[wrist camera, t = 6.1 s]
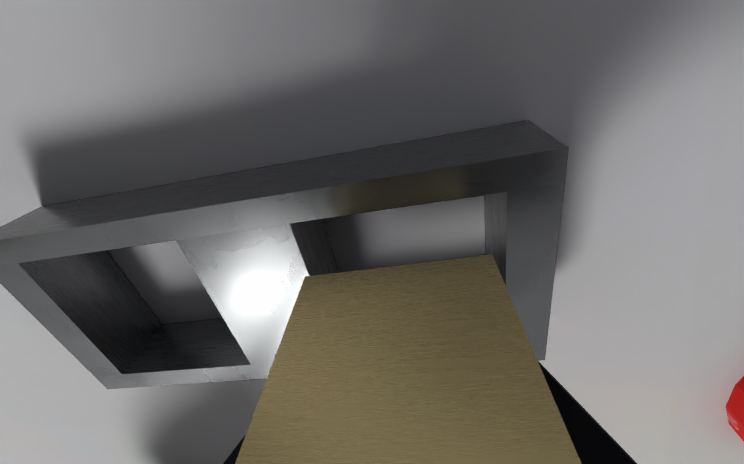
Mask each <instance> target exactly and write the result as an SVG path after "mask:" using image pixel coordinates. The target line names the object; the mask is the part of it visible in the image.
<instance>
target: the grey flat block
mask: <svg viewBox="0 0 744 464" xmlns="http://www.w3.org/2000/svg"><path fill="white" fill-rule="evenodd" d="M567 157H568V147H567V146H565V145H564V144H562V143H561V142H559V141H558V140H556V139H555V138H554V137H552V136H551V135H549V134H548V133H546V132H545V131H543V130H542V129H541V128H539V127H538V126H536V125H535V124H533V123H532V122H530V121H529V120H528V121H522V122H516V123H511V124H505V125H499V126H494V127H488V128H483V129H477V130H471V131H466V132H460V133H454V134H449V135H443V136H437V137H432V138H426V139H421V140H415V141H409V142H404V143H398V144H392V145H387V146H381V147H375V148H370V149H364V150H359V151H353V152H347V153H342V154H336V155H330V156H325V157H319V158H313V159H308V160H302V161H297V162H291V163H285V164H280V165H274V166H268V167H263V168H257V169H252V170H246V171H240V172H235V173H229V174H223V175H218V176H212V177H206V178H201V179H195V180H190V181H184V182H178V183H173V184H167V185H161V186H156V187H150V188H144V189H139V190H133V191H128V192H122V193H116V194H111V195H105V196H99V197H94V198H88V199H82V200H77V201H71V202H66V203H60V204H54V205H49V206H43V207H40V208H38V209H36V210H34V211H32V212H30V213H28V214H25V215H23V216H21V217H19V218H17V219H15V220H13V221H11V222H9V223H7V224H5V225H3V226H1V227H0V283H1V284H2V285H3V286H4V287H5V288H6V289H7V290H8V291H9V292H10V293H11V294H12V295H13V296H14V297H15V298H16V299H17V300H18V301H19V302H20V303H21V304H22V305H23V306H24V307H25V308H26V309H27V310H28V311H29V312H30V313H31V314H32V315H33V316H34V317H35V318H36V319H37V320H38V321H39V322H40V323H41V324H42V325H43V326H44V327H45V328H46V329H47V330H48V331H49V332H50V333H51V334H52V335H53V336H54V337H55V338H56V339H57V340H58V341H59V342H60V343H61V344H62V345H63V346H64V347H65V348H66V349H67V350H68V351H69V352H70V353H72V354H73V355H74V356H75V357H76V358H77V359H78V360H79V361H80V362H81V363H82V364H83V365H84V366H85V367H86V368H87V369H88V370H89V371H90V372H91V373H92V374H93V375H94V376H95V377H96V378H97V379H98V380H99V381H100V382H101V383H102V384H103V385H104V386H105V387H106V388H107V389H117V388H132V387H147V386H162V385H177V384H192V383H207V382H222V381H237V380H252V379H267V377H268V374H269V372H270V369H271V366H272V363H273V361H274V358H275V355H276V353H277V350H278V347H279V345H280V342H281V339H282V337H283V334H284V331H285V329H286V326H287V323H288V321H289V318H290V315H291V313H292V310H293V307H294V305H295V302H296V299H297V297H298V294H299V291H300V289H301V286H302V283H303V280H304V278H305V277H306V276H315V275H323V274H331V273H339V271H338V268H337V265H336V262H335V259H334V256H333V253H332V249H331V246H330V243H329V240H328V237H327V234H326V231H325V227H324V224H323V221H322V219H324V218H331V217H338V216H345V215H352V214H358V213H365V212H372V211H379V210H386V209H393V208H399V207H406V206H413V205H420V204H427V203H434V202H441V201H447V200H454V199H461V198H468V197H475V196H482V195H484V207H485V247H486V255H490V254H492V255H493V257H494V260H495V262H496V264H497V267H498V269H499V272H500V274H501V276H502V279H503V281H504V283H505V286H506V288H507V290H508V293H509V295H510V297H511V300H512V302H513V304H514V307H515V309H516V311H517V314H518V316H519V318H520V321H521V323H522V325H523V328H524V330H525V332H526V335H527V337H528V339H529V342H530V344H531V346H532V349H533V351H534V354H535V356H536V358H537V360H545V354H546V345H547V336H548V327H549V318H550V309H551V300H552V291H553V282H554V273H555V264H556V255H557V246H558V237H559V228H560V219H561V210H562V201H563V192H564V183H565V174H566V165H567ZM173 240H176V241H177V243H178V244H179V246H180V248H181V249H182V251H183V253H184V254H185V256H186V258H187V259H188V261H189V263H190V264H191V266H192V268H193V269H194V271H195V273H196V274H197V276H198V278H199V279H200V281H201V283H202V284H203V286H204V287H205V289H206V291H207V292H208V294H209V296H210V297H211V299H212V301H213V302H214V304H215V306H216V307H217V309H218V311H219V312H220V314H221V316H222V317H223V319H214V320H204V321H194V322H184V323H174V324H164V325H162V324H161V323H160V322H159V320H158V319H157V318H156V316H155V315H154V314H153V312H152V311H151V310H150V308H149V307H148V306H147V304H146V303H145V302H144V300H143V299H142V298H141V296H140V295H139V294H138V292H137V291H136V290H135V288H134V287H133V286H132V284H131V283H130V282H129V280H128V279H127V278H126V276H125V275H124V274H123V272H122V271H121V270H120V268H119V267H118V266H117V264H116V263H115V262H114V260H113V259H112V258H111V256H110V255H109V254H108V252H107V251H106V250H112V249H119V248H125V247H132V246H139V245H146V244H153V243H160V242H167V241H173Z"/></svg>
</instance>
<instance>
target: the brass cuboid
mask: <svg viewBox="0 0 744 464" xmlns="http://www.w3.org/2000/svg"><path fill="white" fill-rule="evenodd" d="M235 464H581V461H580V459H579V457H578V454H577V452H576V450H575V447H574V445H573V443H572V440H571V438H570V436H569V433H568V431H567V428H566V426H565V424H564V421H563V419H562V417H561V414H560V412H559V410H558V407H557V405H556V403H555V400H554V398H553V396H552V393H551V391H550V389H549V386H548V384H547V382H546V379H545V377H544V375H543V372H542V370H541V368H540V365H539V363H538V361H537V358H536V356H535V354H534V351H533V349H532V346H531V344H530V342H529V339H528V337H527V335H526V332H525V330H524V328H523V325H522V323H521V321H520V318H519V316H518V314H517V311H516V309H515V307H514V304H513V302H512V300H511V297H510V295H509V293H508V290H507V288H506V286H505V283H504V281H503V279H502V276H501V274H500V272H499V269H498V267H497V264H496V262H495V260H494V257H493V255H492V254H490V255H482V256H474V257H465V258H457V259H448V260H440V261H432V262H423V263H415V264H407V265H398V266H390V267H382V268H373V269H365V270H356V271H348V272H340V273H331V274H323V275H315V276H306V277H305V278H304V280H303V283H302V286H301V289H300V291H299V294H298V297H297V299H296V302H295V305H294V307H293V310H292V313H291V315H290V318H289V321H288V323H287V326H286V329H285V331H284V334H283V337H282V339H281V342H280V345H279V347H278V350H277V353H276V355H275V358H274V361H273V363H272V366H271V369H270V372H269V374H268V377H267V380H266V382H265V385H264V388H263V390H262V393H261V396H260V398H259V401H258V404H257V406H256V409H255V412H254V414H253V417H252V420H251V422H250V425H249V428H248V430H247V433H246V436H245V438H244V441H243V444H242V446H241V449H240V452H239V455H238V457H237V460H236V463H235Z"/></svg>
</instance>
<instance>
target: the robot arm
mask: <svg viewBox="0 0 744 464" xmlns="http://www.w3.org/2000/svg"><path fill="white" fill-rule="evenodd" d="M537 361H538V360H537ZM538 363H539V365H540V368H541V370H542V372H543V375H544V377H545V379H546V382H547V384H548V386H549V389H550V391H551V393H552V396H553V398H554V400H555V403H556V405H557V407H558V410H559V412H560V414H561V417H562V419H563V421H564V424H565V426H566V428H567V431H568V433H569V436H570V438H571V440H572V443H573V445H574V447H575V450H576V452H577V454H578V457H579V459H580V461H581V464H637V463H636V462H635V461H634V460H633V459H632V458H631V457H630V456H629V455H628V454H627V453H626V452H625V451H624V450H623V448H622V447H621V446H620V445H619V444H618V443H617V442H616V441H615V440H614V439H613V438H612V437H611V436H610V435H609V434H608V433H607V432H606V431H605V430H604V429H603V428H602V427H601V426H600V425H599V424H598V423H597V422H596V420H595V419H594V418H593V417H592V416H591V415H590V414H589V413H588V412H587V411H586V410H585V409H584V408H583V407H582V406H581V405H580V404H579V403H578V402H577V401H576V400H575V399H574V398H573V397H572V396H571V395H570V394H569V392H568V391H567V390H566V389H565V388H564V387H563V386H562V385H561V384H560V383H559V382H558V381H557V380H556V379H555V378H554V377H553V376H552V375H551V374H550V373H549V372H548V371H547V370H546V369H545V368H544V367H543V366H542V364H541V363H540V362H539V361H538ZM245 436H246V435H245ZM245 436H244V437H243V439H242V440H241V441H240V443H239V444H238V445H237V447H236V448H235V449H234V450H233V452H232V453H231V454H230V456H229V457H228V458H227V460H226V461H225V462H224V463H223V464H235V463H236V460H237V457H238V455H239V452H240V449H241V446H242V444H243V441H244V438H245Z"/></svg>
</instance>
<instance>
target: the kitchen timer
mask: <svg viewBox="0 0 744 464" xmlns="http://www.w3.org/2000/svg"><path fill="white" fill-rule="evenodd" d="M726 410H727V416H728V422H729V424H730V426H731V427H732V428H733V429H734V430H735V432H736V433H737V434H738V435H739V436H740V437H741V439H742V440H743V441H744V377H743V378H742V379H741V380H740V381H739V382H738V383H737V384H736V385H735V387H734V389H733V391H732V393H731V396H730V398H729V400H728V402H727V404H726Z"/></svg>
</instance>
